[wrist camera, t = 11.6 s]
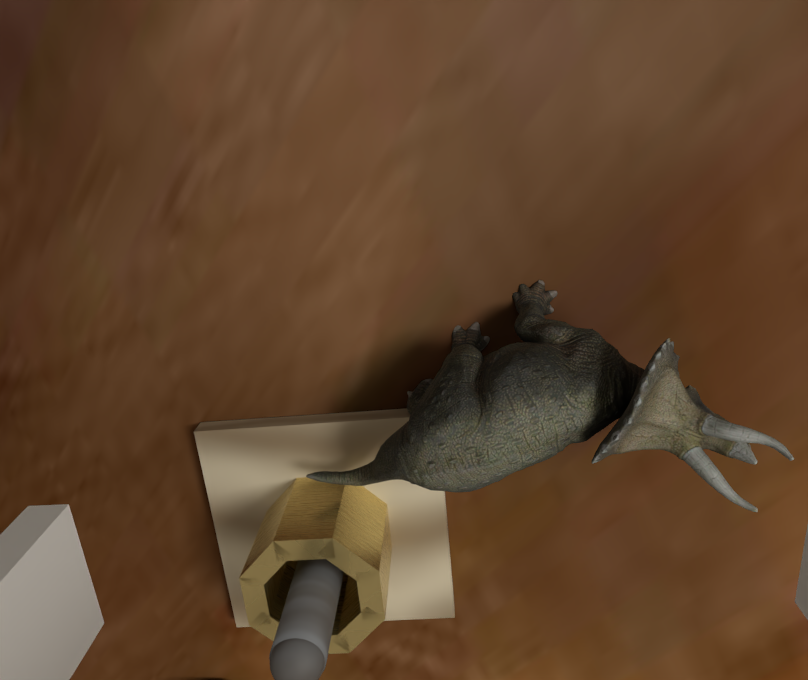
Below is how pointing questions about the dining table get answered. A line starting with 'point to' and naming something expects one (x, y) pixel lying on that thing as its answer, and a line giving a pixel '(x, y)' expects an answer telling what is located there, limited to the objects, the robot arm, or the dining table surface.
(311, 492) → the sleeve
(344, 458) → the post board
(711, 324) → the dining table surface
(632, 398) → the dinosaur figurine
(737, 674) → the dining table surface
